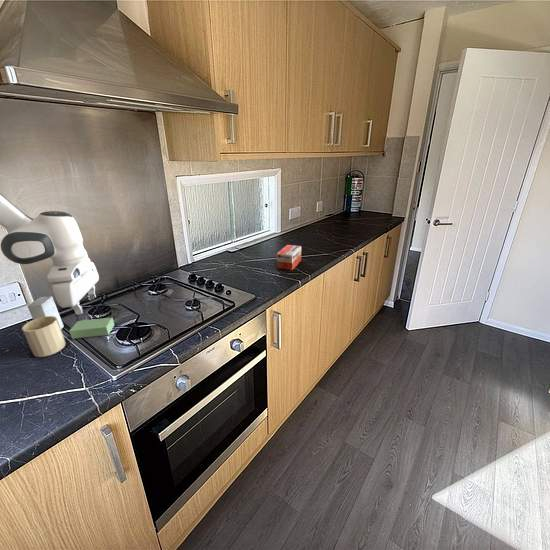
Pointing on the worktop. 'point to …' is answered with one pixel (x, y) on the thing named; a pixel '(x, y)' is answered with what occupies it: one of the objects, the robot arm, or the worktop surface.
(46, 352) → the cup
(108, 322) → the green flat block
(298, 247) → the medicine box
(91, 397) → the worktop surface
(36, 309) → the cosmetic box
